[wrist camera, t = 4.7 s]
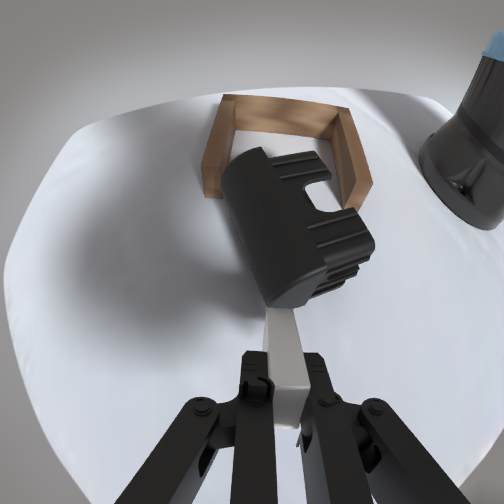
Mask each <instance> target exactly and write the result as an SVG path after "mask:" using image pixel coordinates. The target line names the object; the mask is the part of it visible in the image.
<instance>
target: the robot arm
mask: <svg viewBox="0 0 504 504" xmlns="http://www.w3.org/2000/svg"><path fill="white" fill-rule="evenodd" d="M481 55H483V56H482V59H481V61H480V64H479V66H478V68H477V71H476V73H475V75H474V77H473V80H472V82H471V84H470V86H469V88H468V90H467V92H466V94H465V96H464V98H463V100H462V102H461V104H460V106H459V108H458V110H457V112H456V113H455V115H454V116H453V117H452V118H451V119H450V120H449V121H448V122H446V123H445V124H444V125H443V126H442V127H441V128H440V129H439V130H438V131H437V132H436V133H434V134H432V135H430V136H429V137H428V138H427V140H426V141H425V143H424V145H423V147H422V148H421V150H420V153H419V161H420V165H421V168H422V171H423V173H424V175H425V177H426V179H427V181H428V182H429V184H430V185H431V187H432V188H433V190H434V191H435V192H436V194H437V195H438V196H439V197H440V198H441V200H442V201H443V202H444V203H445V204H446V205H447V206H448V207H449V208H450V209H451V210H452V211H453V212H454V213H455V214H457V215H458V216H459V217H460V218H461V219H463V220H464V221H466V222H467V223H469V224H470V225H472V226H474V227H476V228H479V229H482V230H492V229H494V228H496V227H497V226H498V225H499V224H500V223H501V222H502V221H503V220H504V31H503V30H498V31H495V32H494V33H493V34H492V36H491V38H490V40H489V42H488V44H487V46H486V49H485V50H484V51H483V52H482V54H481ZM262 350H263V352H262V351H246V352H245V353H244V355H243V356H242V364H241V376H240V384H239V393H238V395H237V397H236V398H234V399H233V400H231V401H229V402H225V403H218V404H217V403H216V402H215V401H214V400H212V399H210V398H207V397H195V398H193V399H190V400H189V401H188V402H187V403H185V405H184V406H183V408H182V409H181V411H180V412H179V414H178V415H177V417H176V418H175V420H174V421H173V422H172V424H171V425H170V427H169V428H168V430H167V431H166V433H165V434H164V435H163V437H162V438H161V440H160V441H159V443H158V444H157V445H156V447H155V448H154V450H153V451H152V452H151V454H150V455H149V457H148V458H147V459H146V461H145V462H144V464H143V465H142V466H141V468H140V469H139V471H138V472H137V473H136V475H135V476H134V477H133V479H132V480H131V482H130V483H129V484H128V486H127V487H126V488H125V490H124V491H123V492H122V494H121V495H120V496H119V498H118V499H117V500H116V502H115V503H114V504H192V502H193V500H194V498H195V496H196V495H197V493H198V491H199V489H200V487H201V485H202V483H203V481H204V479H205V477H206V475H207V473H208V471H209V469H210V467H211V465H212V463H213V461H214V459H215V457H216V455H217V453H218V450H219V449H221V448H227V447H233V446H235V447H234V459H233V472H232V484H231V497H230V504H278V496H277V474H276V454H275V435H274V428H278V429H295V428H298V427H299V424H300V423H301V432H300V435H299V438H298V441H297V444H296V447H299V444H300V448H301V456H302V464H303V472H304V481H305V489H306V498H307V504H374V503H373V499H372V496H373V497H374V499H375V501H376V502H377V504H471V503H470V502H469V501H468V500H467V499H466V497H465V496H464V495H463V494H462V492H461V491H460V490H459V489H458V488H457V486H456V485H455V484H454V483H453V481H452V480H451V479H450V478H449V477H448V475H447V474H446V473H445V472H444V471H443V469H442V468H441V467H440V466H439V464H438V463H437V462H436V461H435V460H434V458H433V457H432V456H431V455H430V454H429V452H428V451H427V450H426V449H425V448H424V446H423V445H422V444H421V443H420V442H419V440H418V439H417V438H416V437H415V436H414V434H413V433H412V432H411V431H410V430H409V428H408V427H407V426H406V425H405V424H404V422H403V421H402V420H401V419H400V418H399V416H398V415H397V414H396V413H395V412H394V410H393V409H392V408H391V407H390V406H389V404H388V403H386V402H385V401H383V400H381V399H378V398H370V399H367V400H365V401H364V402H363V403H362V405H357V404H351V403H347V402H344V401H343V400H342V398H341V396H340V395H338V394H337V393H335V392H334V390H333V387H332V383H331V380H330V377H329V374H328V371H327V368H326V365H325V362H324V359H323V358H322V357H321V356H320V355H319V354H318V353H303V351H302V346H301V342H300V338H299V334H298V329H297V325H296V321H295V317H294V313H293V309H282V308H267V310H266V319H265V328H264V337H263V346H262ZM371 494H372V496H371Z"/></svg>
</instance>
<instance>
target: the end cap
mask: <svg viewBox="0 0 504 504" xmlns="http://www.w3.org/2000/svg"><path fill="white" fill-rule="evenodd" d="M331 177H332V174H331V173H330V171H329V170H328V168H327V167H326V166H325V164H324V163H323V161H322V160H321V159H320V157H319V156H318V155H317V153H316V152H315V151H307V152H301V153H295V154H289V155H284V156H278V157H273V158H268V157H267V156H266V154H265V152H264V151H263V149H262V147H261V146H260V147H257V148H253V149H250V150H248V151H246V152H244V153H242V154H241V155H239V156H237V157H236V158H235V159H234V160H233V161H231V163H230V164H229V165H228V166H227V167H226V169H225V171H224V172H223V175H222V178H221V182H220V187H221V192H222V194H223V197H224V199H225V202H226V205H227V207H228V210H229V212H230V215H231V217H232V220H233V223H234V225H235V228H236V230H237V233H238V235H239V238H240V241H241V243H242V246H243V248H244V251H245V253H246V256H247V258H248V261H249V263H250V266H251V269H252V271H253V274H254V276H255V279H256V281H257V284H258V286H259V289H260V291H261V294H262V296H263V299H264V302H265V304H266V306H267V307H268V308H282V309H294V308H298V307H301V306H303V305H305V304H306V303H307V301H308V300H309V299H311V298H314V297H316V296H319V295H322V294H324V293H327V292H329V291H332V290H335V289H337V288H340V287H341V286H342V285H343V284H344V283H345V280H346V279H349V278H352V277H354V276H356V275H357V272H358V270H359V269H360V268H359V266H358V264H361V263H364V262H366V261H369V259H370V255H371V254H372V253H373V252H374V250H375V242H374V239H373V237H372V235H371V234H370V232H369V230H368V229H367V227H366V225H365V224H364V222H363V221H362V219H361V217H360V216H359V214H358V213H357V211H356V210H355V208H354V207H351V208H347V209H343V210H339V211H335V212H323V211H320V210H317V209H316V208H315V206H314V205H313V203H312V201H311V200H310V198H309V196H308V195H307V193H306V191H305V187H306V186H307V185H309V184H311V183H315V182H320V181H325V180H330V179H331Z"/></svg>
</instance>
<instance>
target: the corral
mask: <svg viewBox="0 0 504 504" xmlns="http://www.w3.org/2000/svg"><path fill="white" fill-rule="evenodd" d="M235 130H245V131H259V132H270V133H281V134H290V135H298V136H306V137H313V138H320V139H327V140H330V141H331V145H332V150H333V155H334V160H335V166H336V171H337V176H338V182H339V188H340V194H341V201H342V207H343V209H347V208H351V207H354V208H355V210H356V211H357V212H358V211H359V209H360V207H361V205H362V204H363V202H364V200H365V198H366V196H367V194H368V192H369V190H370V189H371V187H372V185H373V181H372V178H371V174H370V171H369V167H368V164H367V160H366V157H365V154H364V151H363V148H362V145H361V141H360V138H359V135H358V133H357V130H356V127H355V124H354V121H353V119H352V116H351V113H350V110H349V108H344V107H339V106H333V105H328V104H322V103H316V102H309V101H302V100H295V99H286V98H277V97H266V96H252V95H233V94H223V97H222V100H221V103H220V106H219V109H218V112H217V115H216V118H215V121H214V124H213V127H212V130H211V133H210V137H209V140H208V143H207V146H206V150H205V153H204V156H203V160H202V163H201V170H202V177H203V184H204V191H205V198H220V199H222V196H223V194H222V192H221V187H220V182H221V178H222V175H223V172H224V171H225V169H226V167H227V166H228V164H229V159H230V154H231V149H232V144H233V139H234V134H235Z"/></svg>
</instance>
